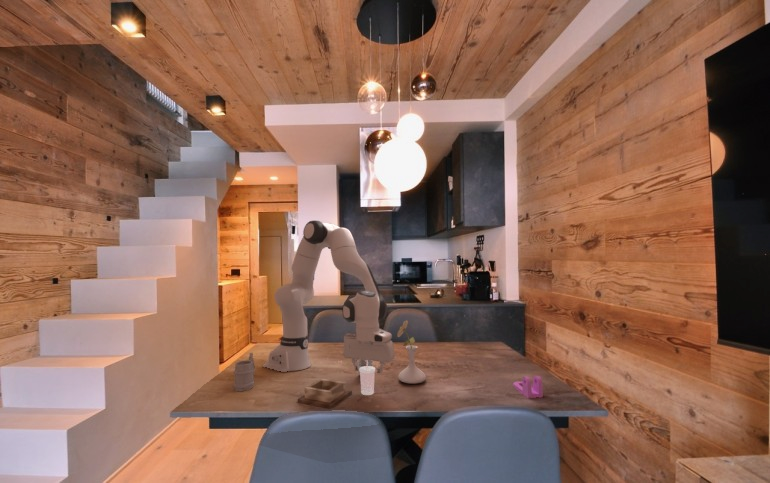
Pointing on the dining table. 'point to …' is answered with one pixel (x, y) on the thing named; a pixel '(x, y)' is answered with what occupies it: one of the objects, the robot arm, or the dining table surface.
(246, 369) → the mug
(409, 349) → the flower in vase
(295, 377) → the dining table surface
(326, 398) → the socket stand
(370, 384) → the beverage cup
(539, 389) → the bracket
